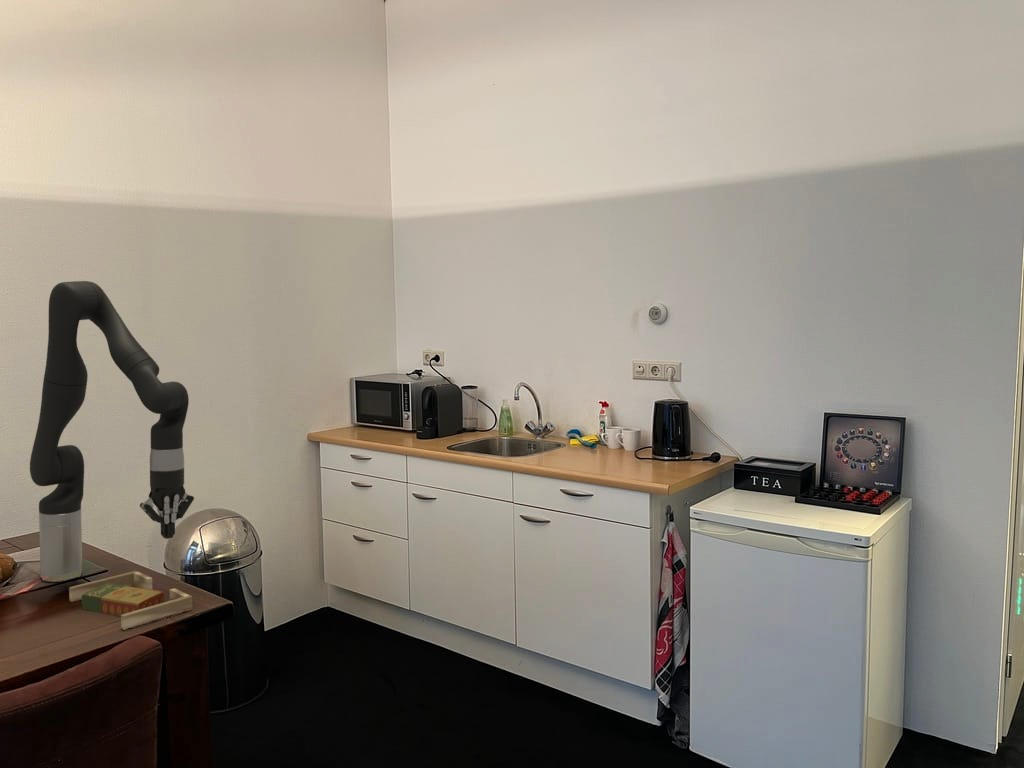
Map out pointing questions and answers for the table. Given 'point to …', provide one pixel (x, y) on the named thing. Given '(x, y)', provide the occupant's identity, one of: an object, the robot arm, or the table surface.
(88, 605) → the carton
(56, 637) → the table surface
